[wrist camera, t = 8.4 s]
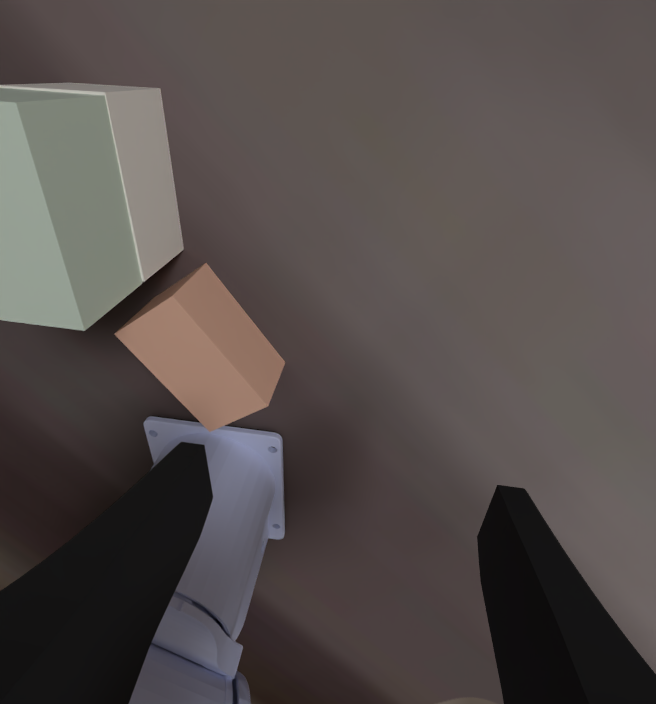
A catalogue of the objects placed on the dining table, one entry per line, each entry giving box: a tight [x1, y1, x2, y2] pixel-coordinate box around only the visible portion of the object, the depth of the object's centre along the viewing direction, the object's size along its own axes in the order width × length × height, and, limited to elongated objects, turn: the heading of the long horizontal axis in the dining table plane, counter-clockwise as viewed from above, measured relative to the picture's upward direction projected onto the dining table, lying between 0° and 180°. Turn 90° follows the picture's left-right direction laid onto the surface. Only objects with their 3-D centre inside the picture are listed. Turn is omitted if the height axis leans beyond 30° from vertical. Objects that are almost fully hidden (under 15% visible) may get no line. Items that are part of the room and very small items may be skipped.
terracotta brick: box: [115, 263, 285, 432], centre depth 19 cm, size 6×4×4 cm, turn 33°
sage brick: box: [0, 87, 143, 331], centre depth 13 cm, size 6×4×4 cm, turn 177°
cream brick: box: [0, 83, 184, 282], centre depth 16 cm, size 6×4×4 cm, turn 177°
